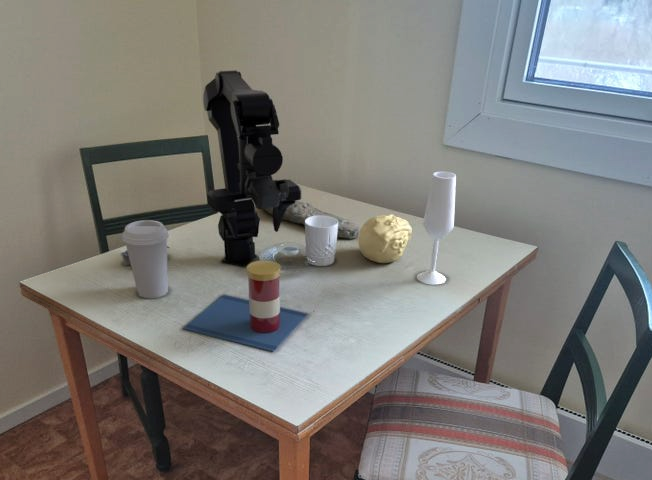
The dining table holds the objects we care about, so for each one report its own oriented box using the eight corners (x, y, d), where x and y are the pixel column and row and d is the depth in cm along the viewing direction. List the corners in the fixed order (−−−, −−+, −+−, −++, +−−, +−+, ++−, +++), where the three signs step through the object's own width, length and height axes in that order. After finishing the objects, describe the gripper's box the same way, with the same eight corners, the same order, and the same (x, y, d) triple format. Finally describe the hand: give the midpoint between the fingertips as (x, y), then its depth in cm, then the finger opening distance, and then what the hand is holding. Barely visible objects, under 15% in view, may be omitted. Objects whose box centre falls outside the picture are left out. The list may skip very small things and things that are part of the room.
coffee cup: (182, 286, 144) (176, 222, 136) (161, 304, 136) (152, 238, 128) (145, 279, 146) (136, 216, 138) (122, 297, 139) (111, 232, 131)
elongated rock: (344, 249, 165) (368, 240, 171) (347, 229, 162) (370, 221, 169) (249, 209, 183) (273, 202, 190) (250, 191, 180) (275, 185, 187)
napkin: (183, 329, 128) (183, 327, 128) (223, 295, 140) (223, 294, 140) (273, 351, 121) (273, 350, 121) (307, 314, 133) (307, 313, 133)
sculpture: (383, 272, 151) (387, 228, 145) (348, 256, 158) (350, 214, 152) (415, 259, 157) (420, 217, 151) (379, 244, 165) (383, 203, 159)
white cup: (333, 268, 152) (335, 228, 147) (301, 265, 153) (301, 225, 148) (339, 255, 159) (340, 216, 153) (307, 252, 160) (308, 214, 154)
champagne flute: (440, 287, 145) (455, 181, 131) (412, 280, 147) (424, 176, 134) (450, 275, 149) (465, 173, 136) (422, 269, 152) (434, 168, 139)
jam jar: (243, 329, 127) (240, 270, 120) (258, 315, 132) (256, 258, 125) (272, 336, 125) (271, 277, 118) (286, 321, 130) (285, 263, 123)
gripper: (222, 178, 118) (227, 256, 126) (313, 166, 125) (312, 241, 133) (203, 161, 126) (209, 236, 135) (290, 151, 133) (290, 223, 142)
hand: (256, 234), depth 136 cm, fingers open, 9 cm apart
